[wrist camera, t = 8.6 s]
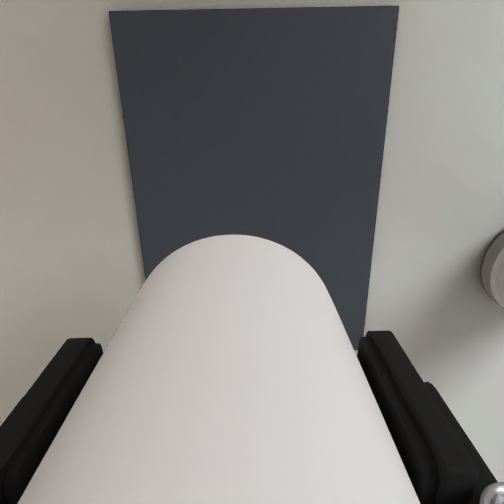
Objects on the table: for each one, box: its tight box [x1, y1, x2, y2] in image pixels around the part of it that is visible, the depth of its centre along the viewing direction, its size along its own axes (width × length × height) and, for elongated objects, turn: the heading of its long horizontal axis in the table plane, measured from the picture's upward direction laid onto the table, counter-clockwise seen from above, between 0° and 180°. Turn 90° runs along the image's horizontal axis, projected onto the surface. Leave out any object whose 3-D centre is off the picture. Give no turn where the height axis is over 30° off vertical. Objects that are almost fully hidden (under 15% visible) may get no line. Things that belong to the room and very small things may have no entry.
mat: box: [109, 6, 399, 350], centre depth 22 cm, size 20×14×1 cm
